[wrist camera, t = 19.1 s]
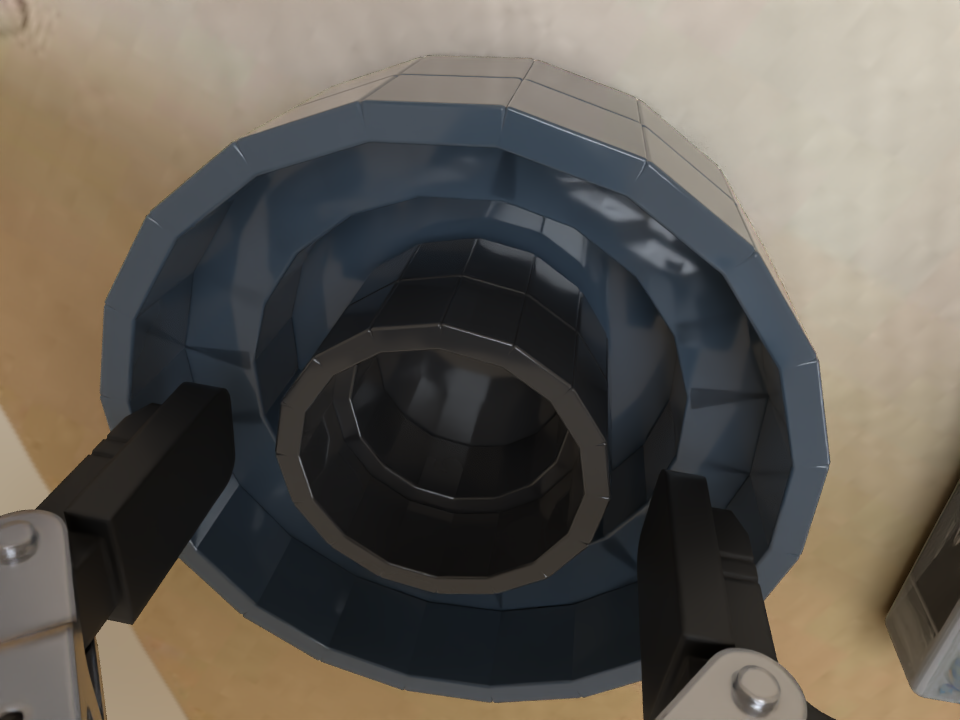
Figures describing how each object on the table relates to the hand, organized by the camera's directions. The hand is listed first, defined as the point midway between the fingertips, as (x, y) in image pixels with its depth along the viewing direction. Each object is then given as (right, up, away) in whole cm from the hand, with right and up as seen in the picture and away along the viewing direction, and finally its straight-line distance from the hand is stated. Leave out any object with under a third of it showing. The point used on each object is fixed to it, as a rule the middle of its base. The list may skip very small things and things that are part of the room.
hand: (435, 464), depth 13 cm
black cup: (+1, +2, +4) cm, 4 cm away
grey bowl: (+1, +2, +4) cm, 5 cm away
